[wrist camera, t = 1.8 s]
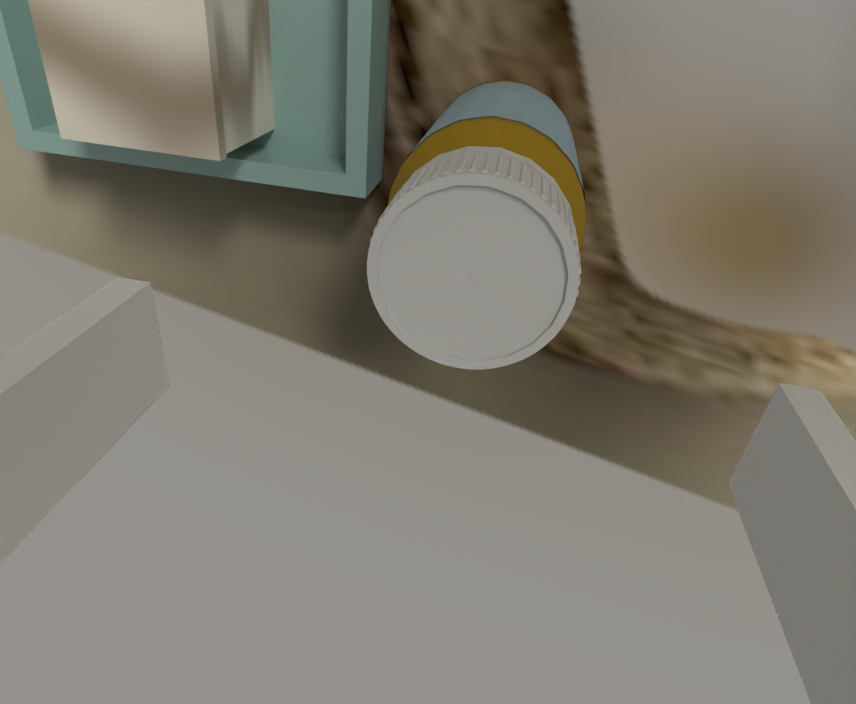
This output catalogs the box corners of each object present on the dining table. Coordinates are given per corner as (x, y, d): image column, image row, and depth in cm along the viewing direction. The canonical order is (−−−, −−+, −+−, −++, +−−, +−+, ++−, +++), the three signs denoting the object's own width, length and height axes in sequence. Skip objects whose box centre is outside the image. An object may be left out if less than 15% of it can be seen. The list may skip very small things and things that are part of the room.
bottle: (404, 150, 30) (304, 269, 17) (509, 43, 27) (478, 93, 14) (495, 248, 32) (463, 417, 19) (603, 159, 29) (650, 293, 16)
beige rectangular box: (120, -30, 27) (19, -34, 22) (269, -13, 26) (202, -13, 21) (143, 112, 30) (61, 138, 25) (276, 130, 30) (220, 161, 24)
